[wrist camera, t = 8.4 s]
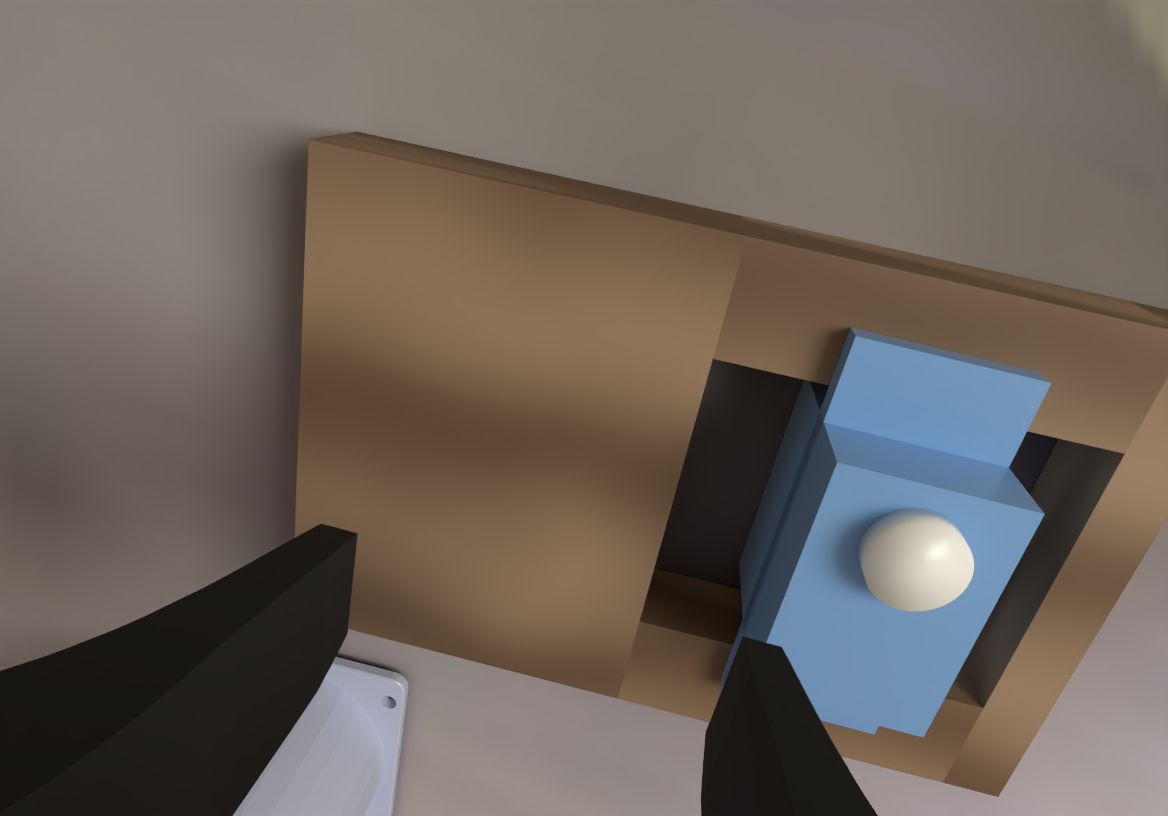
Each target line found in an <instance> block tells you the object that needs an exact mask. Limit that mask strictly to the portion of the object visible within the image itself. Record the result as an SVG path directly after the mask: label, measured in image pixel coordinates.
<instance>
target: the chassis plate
mask: <svg viewBox="0 0 1168 816" xmlns="http://www.w3.org/2000/svg"><path fill="white" fill-rule="evenodd" d="M850 328H856V329H860V330H864V331H868V332H872V333H877V334H881V335H885V336H889V337H893V338H897V339H902V340H906V341H910V342H914V343H918V344H922V345H927V346H931V347H935V348H939V349H943V350H948V351H952V352H956V353H960V354H964V355H968V356H973V357H977V358H981V359H985V360H989V361H993V362H998V363H1002V364H1006V365H1010V366H1014V367H1019V368H1023V369H1027V370H1031V371H1035V372H1039V373H1041V374H1042V375H1043V376H1044V377H1045V378H1046V379H1048V380H1049V381H1050V382H1051V385H1050V387H1049V389H1048V391H1047V393H1046V395H1045V397H1044V399H1043V401H1042V403H1041V405H1040V407H1039V409H1038V411H1037V413H1036V415H1035V417H1034V419H1033V421H1032V423H1031V425H1030V427H1029V429H1028V432H1033V433H1037V434H1041V435H1046V436H1050V437H1054V438H1059V439H1058V441H1057V443H1056V444H1055V446H1054V448H1053V450H1052V452H1051V454H1050V456H1049V458H1048V460H1047V462H1046V464H1045V466H1044V468H1043V470H1042V472H1041V474H1040V476H1039V478H1038V480H1037V482H1036V484H1035V486H1034V488H1033V490H1032V492H1031V494H1030V496H1031V497H1032V498H1033V500H1034V501H1035V502H1036V503H1037V505H1038V506H1039V507H1040V509H1041V510H1042V511H1043V512H1044V514H1045V515H1044V516H1043V518H1042V520H1041V522H1040V524H1039V526H1038V527H1037V529H1036V531H1035V533H1034V535H1033V537H1032V539H1031V540H1030V542H1029V544H1028V546H1027V548H1026V550H1025V551H1024V553H1023V555H1022V557H1021V559H1020V561H1019V562H1018V564H1017V566H1016V568H1015V570H1014V572H1013V574H1012V575H1011V577H1010V579H1009V581H1008V583H1007V585H1006V586H1005V588H1004V590H1003V592H1002V594H1001V596H1000V597H999V599H998V601H997V603H996V605H995V607H994V609H993V610H992V612H991V614H990V616H989V618H988V620H987V621H986V623H985V625H984V627H983V629H982V631H981V632H980V634H979V636H978V638H977V640H976V642H975V644H974V645H973V647H972V649H971V651H970V653H969V655H968V656H967V658H966V660H965V662H964V664H963V666H962V667H961V669H960V671H959V673H958V675H957V677H956V679H955V680H954V682H953V684H952V686H951V688H950V690H949V691H948V693H947V695H946V697H945V699H944V701H943V702H942V704H941V706H940V708H939V710H938V712H937V714H936V715H935V717H934V719H933V721H932V723H931V725H930V726H929V728H928V730H927V732H926V734H925V736H924V738H923V737H920V736H916V735H912V734H908V733H904V732H901V731H897V730H893V729H889V728H886V727H882V726H878V728H877V730H876V732H875V734H870V733H866V732H863V731H859V730H855V729H851V728H848V727H844V726H840V725H836V724H833V723H829V722H825V721H821V722H822V724H823V725H824V727H825V729H826V731H827V733H828V734H829V736H830V738H831V740H832V741H833V743H834V745H835V747H836V748H837V750H838V752H839V754H840V755H841V756H842V757H846V758H850V759H854V760H858V761H862V762H866V763H869V764H873V765H877V766H881V767H885V768H889V769H893V770H897V771H900V772H904V773H908V774H912V775H916V776H920V777H924V778H927V779H931V780H935V781H939V782H943V783H947V784H951V785H955V786H958V787H962V788H966V789H970V790H974V791H978V792H982V793H985V794H989V795H993V796H997V797H998V796H999V795H1000V793H1001V791H1002V790H1003V788H1004V786H1005V785H1006V783H1007V781H1008V780H1009V778H1010V776H1011V775H1012V773H1013V772H1014V770H1015V768H1016V767H1017V765H1018V763H1019V762H1020V760H1021V758H1022V757H1023V755H1024V753H1025V752H1026V750H1027V748H1028V747H1029V745H1030V743H1031V742H1032V740H1033V739H1034V737H1035V735H1036V734H1037V732H1038V730H1039V729H1040V727H1041V725H1042V724H1043V722H1044V720H1045V719H1046V717H1047V715H1048V714H1049V712H1050V711H1051V709H1052V707H1053V706H1054V704H1055V702H1056V701H1057V699H1058V697H1059V696H1060V694H1061V692H1062V691H1063V689H1064V687H1065V686H1066V684H1067V682H1068V681H1069V679H1070V678H1071V676H1072V674H1073V673H1074V671H1075V669H1076V668H1077V666H1078V664H1079V663H1080V661H1081V659H1082V658H1083V656H1084V654H1085V653H1086V651H1087V649H1088V648H1089V646H1090V645H1091V643H1092V641H1093V640H1094V638H1095V636H1096V635H1097V633H1098V631H1099V630H1100V628H1101V626H1102V625H1103V623H1104V621H1105V620H1106V618H1107V617H1108V615H1109V613H1110V612H1111V610H1112V608H1113V607H1114V605H1115V603H1116V602H1117V600H1118V598H1119V597H1120V595H1121V593H1122V592H1123V590H1124V588H1125V587H1126V585H1127V584H1128V582H1129V580H1130V579H1131V577H1132V575H1133V574H1134V572H1135V570H1136V569H1137V567H1138V565H1139V564H1140V562H1141V560H1142V559H1143V557H1144V555H1145V554H1146V552H1147V551H1148V549H1149V547H1150V546H1151V544H1152V542H1153V541H1154V539H1155V537H1156V536H1157V534H1158V532H1159V531H1160V529H1161V527H1162V526H1163V524H1164V523H1165V521H1166V519H1167V518H1168V310H1167V309H1162V308H1158V307H1153V306H1148V305H1144V304H1139V303H1135V302H1130V301H1126V300H1121V299H1117V298H1112V297H1107V296H1103V295H1098V294H1094V293H1089V292H1085V291H1080V290H1076V289H1071V288H1066V287H1062V286H1057V285H1053V284H1048V283H1044V282H1039V281H1035V280H1030V279H1025V278H1021V277H1016V276H1012V275H1007V274H1003V273H998V272H994V271H989V270H984V269H980V268H975V267H971V266H966V265H962V264H957V263H953V262H948V261H943V260H939V259H934V258H930V257H925V256H921V255H916V254H911V253H907V252H902V251H898V250H893V249H889V248H884V247H880V246H875V245H870V244H866V243H861V242H857V241H852V240H848V239H843V238H839V237H834V236H829V235H825V234H820V233H816V232H811V231H807V230H802V229H798V228H793V227H788V226H784V225H779V224H775V223H770V222H766V221H761V220H757V219H752V218H747V217H743V216H738V215H734V214H729V213H725V212H720V211H716V210H711V209H706V208H702V207H697V206H693V205H688V204H684V203H679V202H675V201H670V200H665V199H661V198H656V197H652V196H647V195H643V194H638V193H634V192H629V191H624V190H620V189H615V188H611V187H606V186H602V185H597V184H593V183H588V182H583V181H579V180H574V179H570V178H565V177H561V176H556V175H552V174H547V173H542V172H538V171H533V170H529V169H524V168H520V167H515V166H511V165H506V164H501V163H497V162H492V161H488V160H483V159H479V158H474V157H470V156H465V155H460V154H456V153H451V152H447V151H442V150H438V149H433V148H429V147H424V146H419V145H415V144H410V143H406V142H401V141H397V140H392V139H388V138H383V137H378V136H374V135H369V134H365V133H360V132H354V133H347V134H341V135H334V136H328V137H321V138H315V139H309V146H308V174H307V202H306V230H305V258H304V286H303V314H302V342H301V370H300V398H299V426H298V455H297V483H296V511H295V537H297V536H299V535H301V534H303V533H304V532H306V531H308V530H310V529H312V528H314V527H315V526H317V525H319V524H325V525H329V526H332V527H336V528H340V529H343V530H347V531H351V532H355V533H358V536H357V545H356V555H355V565H354V574H353V584H352V594H351V603H350V613H349V622H348V629H351V630H355V631H359V632H363V633H367V634H370V635H374V636H378V637H382V638H386V639H390V640H394V641H397V642H401V643H405V644H409V645H413V646H417V647H421V648H425V649H428V650H432V651H436V652H440V653H444V654H448V655H452V656H456V657H459V658H463V659H467V660H471V661H475V662H479V663H483V664H486V665H490V666H494V667H498V668H502V669H506V670H510V671H514V672H517V673H521V674H525V675H529V676H533V677H537V678H541V679H544V680H548V681H552V682H556V683H560V684H564V685H568V686H572V687H575V688H579V689H583V690H587V691H591V692H595V693H599V694H603V695H606V696H610V697H614V698H618V699H622V700H626V701H630V702H633V703H637V704H641V705H645V706H649V707H653V708H657V709H661V710H664V711H668V712H672V713H676V714H680V715H684V716H688V717H691V718H695V719H699V720H703V721H707V722H710V720H711V717H712V715H713V712H714V709H715V707H716V704H717V702H718V699H719V696H720V694H721V691H722V687H721V677H722V674H723V671H724V669H725V666H726V663H727V661H728V658H729V655H730V652H731V650H732V647H733V644H734V642H735V639H736V636H737V634H738V631H739V628H740V625H741V623H742V620H743V615H742V600H741V589H737V588H733V587H729V586H725V585H721V584H717V583H713V582H709V581H705V580H700V579H696V578H692V577H688V576H684V575H680V574H676V573H672V572H668V571H664V570H660V569H656V568H654V567H655V564H656V560H657V557H658V553H659V550H660V546H661V542H662V539H663V535H664V532H665V528H666V525H667V521H668V517H669V514H670V510H671V507H672V503H673V500H674V496H675V492H676V489H677V485H678V482H679V478H680V475H681V471H682V467H683V464H684V460H685V457H686V453H687V450H688V446H689V442H690V439H691V435H692V432H693V428H694V425H695V421H696V417H697V414H698V410H699V407H700V403H701V400H702V396H703V392H704V389H705V385H706V382H707V378H708V375H709V371H710V367H711V364H712V360H713V359H716V360H721V361H725V362H729V363H734V364H738V365H742V366H747V367H751V368H755V369H760V370H764V371H768V372H773V373H777V374H781V375H786V376H790V377H794V378H799V379H803V380H807V381H812V382H816V383H820V384H825V385H830V382H831V379H832V377H833V374H834V371H835V369H836V366H837V363H838V361H839V358H840V355H841V352H842V350H843V347H844V344H845V342H846V339H847V336H848V334H849V331H850Z"/></svg>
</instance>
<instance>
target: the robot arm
mask: <svg viewBox="0 0 1168 816" xmlns="http://www.w3.org/2000/svg"><path fill="white" fill-rule="evenodd" d="M357 536H358V533H355V532H351V531H347V530H343V529H340V528H336V527H332V526H329V525H325V524H319V525H317V526H315V527H314V528H312V529H310V530H308V531H306V532H304V533H303V534H301V535H299V536H297V537H295V538H294V539H292V540H290V541H288V542H286V543H285V544H283V545H281V546H279V547H278V548H276V549H274V550H272V551H270V552H269V553H267V554H265V555H263V556H262V557H260V558H258V559H256V560H254V561H253V562H251V563H249V564H247V565H245V566H244V567H242V568H240V569H238V570H236V571H234V572H232V573H231V574H229V575H227V576H225V577H223V578H221V579H219V580H217V581H216V582H214V583H212V584H210V585H208V586H206V587H204V588H202V589H200V590H198V591H196V592H194V593H192V594H190V595H188V596H186V597H184V598H182V599H180V600H178V601H176V602H174V603H171V604H169V605H167V606H165V607H163V608H161V609H159V610H157V611H155V612H153V613H151V614H149V615H147V616H145V617H142V618H140V619H138V620H136V621H133V622H131V623H129V624H127V625H124V626H122V627H119V628H117V629H115V630H112V631H110V632H108V633H105V634H103V635H100V636H98V637H95V638H92V639H90V640H87V641H85V642H82V643H80V644H77V645H75V646H72V647H69V648H67V649H64V650H62V651H59V652H56V653H53V654H51V655H48V656H45V657H42V658H39V659H36V660H33V661H30V662H27V663H24V664H20V665H17V666H14V667H11V668H8V669H5V670H2V671H0V816H393V808H394V800H395V792H396V784H397V776H398V768H399V760H400V752H401V743H402V735H403V727H404V719H405V711H406V703H407V695H408V682H407V681H406V679H405V678H404V677H403V676H402V675H401V674H398V673H396V672H393V671H389V670H385V669H381V668H377V667H373V666H370V665H366V664H362V663H358V662H354V661H350V660H347V659H343V658H339V657H336V655H337V653H338V651H339V649H340V647H341V645H342V643H343V641H344V639H345V637H346V635H347V632H348V622H349V613H350V603H351V594H352V584H353V574H354V565H355V555H356V545H357ZM388 696H389V697H392V698H393V699H394V700H393V699H391V698H389V697H388ZM701 813H702V816H878V815H877V814H876V812H875V811H874V809H873V808H872V806H871V805H870V803H869V802H868V800H867V799H866V797H865V796H864V794H863V792H862V791H861V789H860V787H859V786H858V784H857V783H856V781H855V779H854V778H853V776H852V774H851V773H850V771H849V769H848V767H847V766H846V764H845V762H844V760H843V759H842V757H841V755H840V754H839V752H838V750H837V748H836V747H835V745H834V743H833V741H832V740H831V738H830V736H829V734H828V733H827V731H826V729H825V727H824V725H823V724H822V722H821V720H820V718H819V716H818V714H817V712H816V711H815V709H814V707H813V705H812V703H811V701H810V699H809V697H808V696H807V694H806V692H805V690H804V688H803V686H802V684H801V682H800V680H799V678H798V676H797V674H796V672H795V671H794V669H793V667H792V665H791V663H790V661H789V659H788V657H787V655H786V654H785V652H784V650H783V648H782V647H781V646H777V645H773V644H769V643H766V642H762V641H758V640H754V639H751V638H747V637H743V636H742V639H741V642H740V644H739V647H738V649H737V652H736V655H735V657H734V660H733V663H732V665H731V668H730V670H729V673H728V676H727V678H726V681H725V683H724V686H723V689H722V691H721V694H720V696H719V699H718V702H717V704H716V707H715V709H714V712H713V715H712V717H711V720H710V722H709V725H708V728H707V730H706V736H705V748H704V760H703V774H702V789H701Z"/></svg>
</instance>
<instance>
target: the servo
mask: <svg viewBox="0 0 1168 816" xmlns="http://www.w3.org/2000/svg"><path fill="white" fill-rule="evenodd" d="M1050 385H1051V382H1050V381H1049V380H1048V379H1046V378H1045V377H1044V376H1043V375H1042V374H1041V373H1039V372H1035V371H1031V370H1027V369H1023V368H1019V367H1014V366H1010V365H1006V364H1002V363H998V362H993V361H989V360H985V359H981V358H977V357H973V356H968V355H964V354H960V353H956V352H952V351H948V350H943V349H939V348H935V347H931V346H927V345H922V344H918V343H914V342H910V341H906V340H902V339H897V338H893V337H889V336H885V335H881V334H877V333H872V332H868V331H864V330H860V329H856V328H850V331H849V334H848V336H847V339H846V342H845V344H844V347H843V350H842V352H841V355H840V358H839V361H838V363H837V366H836V369H835V371H834V374H833V377H832V379H831V382H830V385H825V384H820V383H816V382H812V381H807V380H803V383H802V386H801V389H800V392H799V394H798V397H797V400H796V403H795V406H794V409H793V411H792V414H791V417H790V420H789V423H788V426H787V428H786V431H785V434H784V437H783V440H782V443H781V445H780V448H779V451H778V454H777V457H776V460H775V462H774V465H773V468H772V471H771V474H770V477H769V479H768V482H767V485H766V488H765V491H764V494H763V496H762V499H761V502H760V505H759V508H758V510H757V513H756V516H755V519H754V522H753V525H752V527H751V530H750V533H749V536H748V539H747V542H746V544H745V547H744V550H743V553H742V556H741V559H740V561H739V570H740V585H741V600H742V615H743V620H742V623H741V625H740V628H739V631H738V634H737V636H736V639H735V642H734V644H733V647H732V650H731V652H730V655H729V658H728V661H727V663H726V666H725V669H724V671H723V674H722V677H721V687H722V689H723V686H724V683H725V681H726V678H727V676H728V673H729V670H730V668H731V665H732V663H733V660H734V657H735V655H736V652H737V649H738V647H739V644H740V642H741V639H742V636H743V637H747V638H751V639H754V640H758V641H762V642H766V643H769V644H773V645H777V646H781V647H782V648H783V650H784V652H785V654H786V655H787V657H788V659H789V661H790V663H791V665H792V667H793V669H794V671H795V672H796V674H797V676H798V678H799V680H800V682H801V684H802V686H803V688H804V690H805V692H806V694H807V696H808V697H809V699H810V701H811V703H812V705H813V707H814V709H815V711H816V712H817V714H818V716H819V718H820V720H821V721H825V722H829V723H833V724H836V725H840V726H844V727H848V728H851V729H855V730H859V731H863V732H866V733H870V734H875V732H876V730H877V728H878V726H882V727H886V728H889V729H893V730H897V731H901V732H904V733H908V734H912V735H916V736H920V737H923V738H924V736H925V734H926V732H927V730H928V728H929V726H930V725H931V723H932V721H933V719H934V717H935V715H936V714H937V712H938V710H939V708H940V706H941V704H942V702H943V701H944V699H945V697H946V695H947V693H948V691H949V690H950V688H951V686H952V684H953V682H954V680H955V679H956V677H957V675H958V673H959V671H960V669H961V667H962V666H963V664H964V662H965V660H966V658H967V656H968V655H969V653H970V651H971V649H972V647H973V645H974V644H975V642H976V640H977V638H978V636H979V634H980V632H981V631H982V629H983V627H984V625H985V623H986V621H987V620H988V618H989V616H990V614H991V612H992V610H993V609H994V607H995V605H996V603H997V601H998V599H999V597H1000V596H1001V594H1002V592H1003V590H1004V588H1005V586H1006V585H1007V583H1008V581H1009V579H1010V577H1011V575H1012V574H1013V572H1014V570H1015V568H1016V566H1017V564H1018V562H1019V561H1020V559H1021V557H1022V555H1023V553H1024V551H1025V550H1026V548H1027V546H1028V544H1029V542H1030V540H1031V539H1032V537H1033V535H1034V533H1035V531H1036V529H1037V527H1038V526H1039V524H1040V522H1041V520H1042V518H1043V516H1044V515H1045V514H1044V512H1043V511H1042V510H1041V509H1040V507H1039V506H1038V505H1037V503H1036V502H1035V501H1034V500H1033V498H1032V497H1031V496H1030V494H1029V493H1028V492H1027V491H1026V489H1025V488H1024V487H1023V485H1022V484H1021V483H1020V481H1019V480H1018V479H1017V478H1016V476H1015V475H1014V474H1013V472H1012V471H1011V470H1010V469H1009V466H1010V464H1011V462H1012V460H1013V459H1014V457H1015V455H1016V453H1017V451H1018V449H1019V447H1020V445H1021V443H1022V441H1023V439H1024V437H1025V435H1026V433H1027V431H1028V429H1029V427H1030V425H1031V423H1032V421H1033V419H1034V417H1035V415H1036V413H1037V411H1038V409H1039V407H1040V405H1041V403H1042V401H1043V399H1044V397H1045V395H1046V393H1047V391H1048V389H1049V387H1050Z"/></svg>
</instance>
